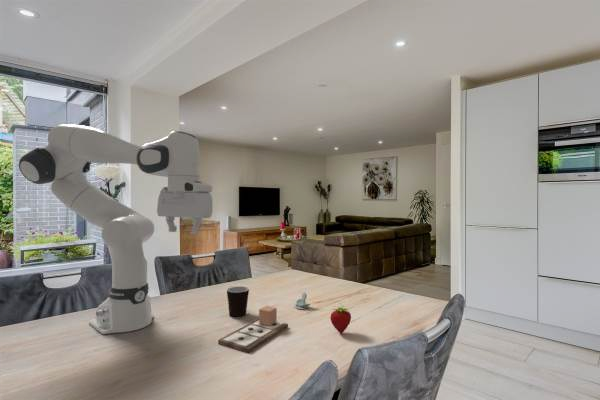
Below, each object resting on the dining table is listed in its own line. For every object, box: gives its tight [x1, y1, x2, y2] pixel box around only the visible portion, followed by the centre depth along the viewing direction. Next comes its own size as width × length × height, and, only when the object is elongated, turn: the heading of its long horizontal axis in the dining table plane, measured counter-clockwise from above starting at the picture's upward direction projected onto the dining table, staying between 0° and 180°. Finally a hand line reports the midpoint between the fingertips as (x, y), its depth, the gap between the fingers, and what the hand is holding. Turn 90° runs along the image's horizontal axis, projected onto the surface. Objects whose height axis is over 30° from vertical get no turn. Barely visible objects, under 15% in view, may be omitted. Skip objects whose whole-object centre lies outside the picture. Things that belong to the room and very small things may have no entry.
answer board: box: [218, 318, 289, 354], centre depth 105 cm, size 12×22×2 cm, turn 151°
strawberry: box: [329, 302, 352, 334], centre depth 107 cm, size 6×8×10 cm
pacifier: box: [294, 291, 311, 310], centre depth 133 cm, size 7×6×6 cm
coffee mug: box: [226, 285, 250, 319], centre depth 125 cm, size 12×9×10 cm
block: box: [258, 305, 278, 326], centre depth 111 cm, size 4×4×5 cm
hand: (183, 232), depth 93 cm, fingers open, 8 cm apart
